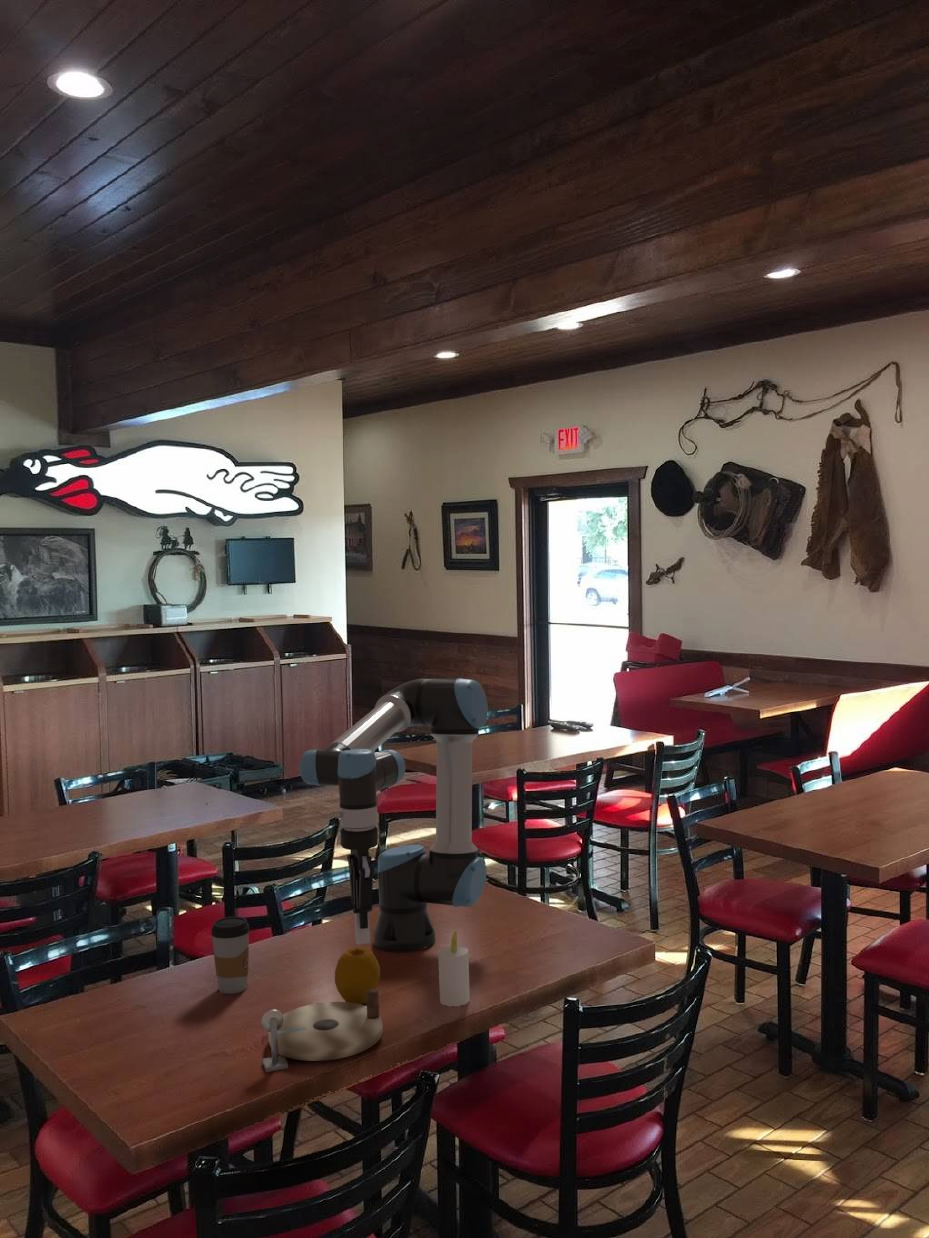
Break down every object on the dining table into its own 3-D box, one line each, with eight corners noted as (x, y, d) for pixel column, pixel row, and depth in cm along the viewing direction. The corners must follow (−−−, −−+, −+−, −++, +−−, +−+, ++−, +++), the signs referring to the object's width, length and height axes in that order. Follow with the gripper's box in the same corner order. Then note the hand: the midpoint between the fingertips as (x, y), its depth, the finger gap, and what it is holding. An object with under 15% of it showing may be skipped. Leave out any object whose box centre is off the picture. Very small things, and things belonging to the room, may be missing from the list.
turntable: (367, 1004, 220) (366, 971, 220) (395, 1047, 199) (394, 1011, 199) (261, 1022, 213) (259, 988, 213) (278, 1069, 192) (276, 1031, 192)
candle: (447, 992, 227) (445, 923, 227) (474, 997, 225) (472, 927, 224) (433, 1003, 222) (431, 933, 221) (461, 1008, 219) (459, 937, 218)
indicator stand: (284, 1058, 199) (282, 1006, 198) (287, 1068, 195) (285, 1014, 194) (262, 1062, 197) (260, 1010, 197) (266, 1072, 194) (263, 1018, 193)
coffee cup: (243, 997, 229) (240, 928, 228) (207, 995, 231) (204, 927, 230) (258, 982, 237) (255, 916, 236) (223, 980, 239) (220, 915, 238)
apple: (386, 1008, 220) (384, 952, 220) (340, 1015, 218) (337, 959, 217) (376, 991, 230) (374, 937, 229) (332, 997, 227) (330, 943, 226)
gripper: (333, 822, 218) (337, 935, 219) (347, 835, 206) (351, 955, 207) (369, 818, 221) (373, 930, 221) (385, 831, 208) (389, 950, 209)
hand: (362, 942), depth 214 cm, fingers closed
